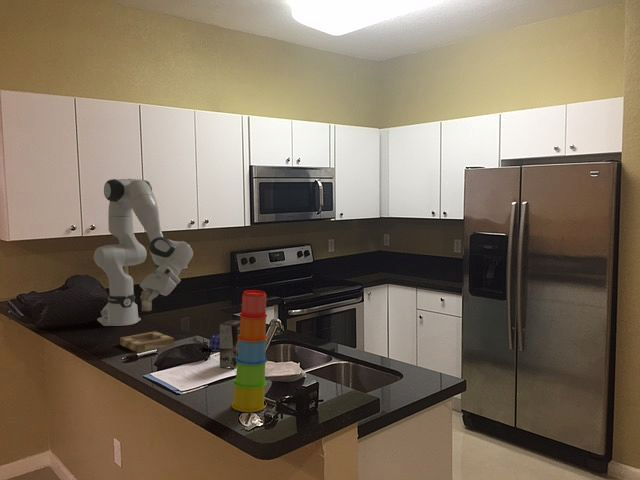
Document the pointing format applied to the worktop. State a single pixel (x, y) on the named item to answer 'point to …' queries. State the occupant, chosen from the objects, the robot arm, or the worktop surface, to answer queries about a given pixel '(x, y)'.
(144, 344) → the collar
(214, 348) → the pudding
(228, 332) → the coffee box
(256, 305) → the stacking cups
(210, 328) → the worktop surface
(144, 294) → the peg
